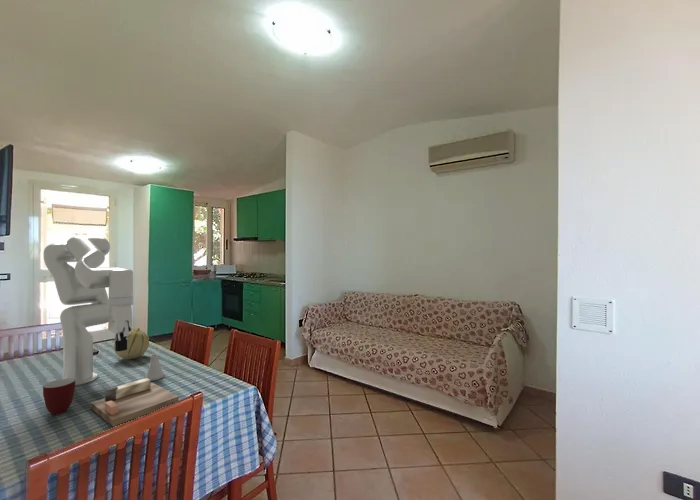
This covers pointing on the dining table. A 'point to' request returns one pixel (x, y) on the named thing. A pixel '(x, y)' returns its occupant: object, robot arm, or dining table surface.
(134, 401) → the stool seat board
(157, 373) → the flask
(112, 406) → the leg stop
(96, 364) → the dining table surface
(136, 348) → the cantaloupe
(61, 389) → the mug
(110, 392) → the folding leg
